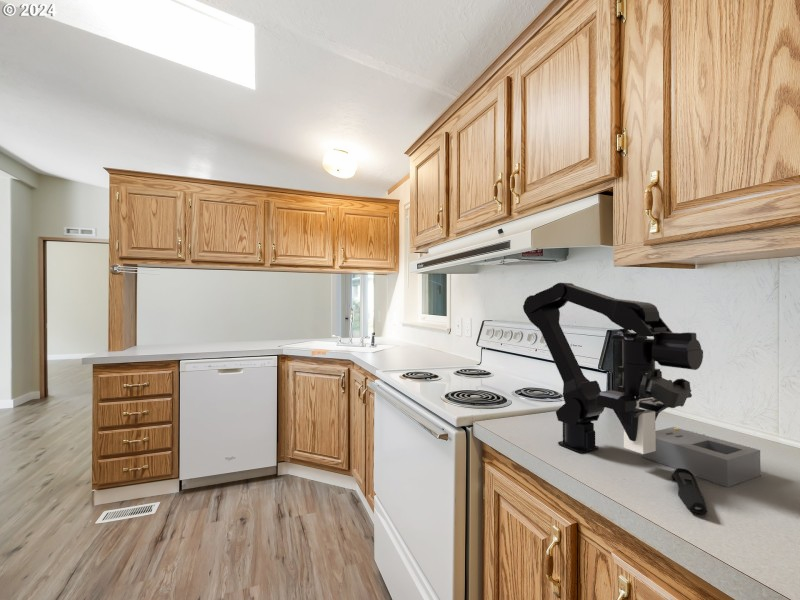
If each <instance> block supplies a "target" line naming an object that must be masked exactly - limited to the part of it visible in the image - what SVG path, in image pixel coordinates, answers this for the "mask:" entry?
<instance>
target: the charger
mask: <svg viewBox="0 0 800 600" xmlns="http://www.w3.org/2000/svg"><path fill="white" fill-rule="evenodd" d="M639 409H642V410H645V412H643V413H642V414H641V415H640V416H639V417H638V427H637V437H636V441H631V440H630V439H629V438H628V436H627V434H626V432H625V430H624V429H623V448H624V449H627V450H630V451H633V452H636V453H638V454H646V453H650V452H654V451H656V432H655V431H656V421H655V411H651V410H647V409H643V408H639Z"/></svg>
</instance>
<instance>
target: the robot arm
mask: <svg viewBox="0 0 800 600" xmlns="http://www.w3.org/2000/svg"><path fill="white" fill-rule="evenodd" d="M569 302H570V303H571V304H575V305H577V306H580V307H582V308H585V309H588V310H591V311H594V312H597V313H598V314H601V315H603V316H605V317H606V318H608V319H609V321H610V322H612V323H614V324H615V325H617V326H619V327H620V328H619V329H618V331H617V332H616V333H614V334H613V335H612V336H611V339H612V340H614V341H615V340H616V341H622V343H621V344H622V346H621V347H622V365H621V366H617V372H619V373H622V385H618V386H617V390H610V389H609V390H604V391H603V390H602V389H601V387H600V384H599V382H598V381H597V380H592V381H591V380H589V379H588V378H587V377H586V376H585V375H584V372H583V371H582V368H581V367H580V366H581V365H580V364H579V362H578V360H577V358H576V356H575V354H574V352H573V350H572V348H571V345H570V344H569V341H568V340H567V337H566V335H565V333H564V330H563V329H562V327H561V324H560V318H561V317H560V316H561V313H560V309H561V308H563V307H565V306H566V305H567V303H569ZM522 308H523V312H524V314H525V315H526V317H527V318H528V320H529V322H530V323H531V324H533V325H534V326H535V327H536V328H537V329H538V330H539V332H540V334H541V335H542V338H543V339H544V341H545V344H546V346H547V349H548V350H549V354H550V355H551V358H552V360H553V362H554V365H555V366H556V369H557V371H558V373H559V376H560V378H561V381H562V383H563V386H562V387H563V388H562V397H563V401H564V404H562V405H561V406H560V407H559V408H558V409H557V410H556V411H555V414H556V419H557V421H558V422H561V423H562V440H561V441H558V442H557V444H558V445H559V446H561V447H564V448H567V449H569V450H571V451H575V452H576V453H578V454H581V453H588V452H591V451H595V450H599V446H597V445H596V430H595V423H594V422H597V421H598V420H599V418H600V415H602V414H603V412H604V411H605V408H606V409H610V410H613V412H614V413H615V415H616V417H617V419H618V420H619V422H620V424H621V426H622V427H623V431H624V430H625V432H626V434H627V436H628V438H629V439H630V440H631V441H636V437H637V427H638V417H639V416H640V415H641V414H642V413H643V412H645V410H642V409H639V408H643V409H647V410H651V411H655V422H656V421H657V417H658V416H659V414H660V413H661V412H663V411H664V410H666V409H668V408H671V409H676V408H678V407H681V408H683V407H684V405H685V403H686V401H687V399H688V398H689V399H690V398H692V397H693V394H692V393H691V392H692V389H691V384H690V383H691V382H690V381H689V380H686V379H685V378H676V379H674V381H673V380H671V379H666V378H664V377H663V375H662V374H663V372H662V371H661V368H656V363H657V364H658V365H659V366H661V367H669V368H675V369H676V368H677V369H684V370H685V369H686V370H693V371H697V370H698V369H700V368H701V365H702V363H703V361H704V360H703V358H704V350H703V349H702V345H701V343H700V341H699V340H698V339H697V332H673V331H672V330H671V329H670V328H669V326H668V325H667V324H666V322H664V320H663V318H661V316H660V312H659V310H658V307H657V306H656V305H655V304H653V303H650V302H645V301H639V300H638V301H636V300H631V299H621V298H615V297H612V296H609V295H606V294H603V293H599V292H597V291H595V290H594V291H593V290H590V289H587V288H584V287H580V286H578V285H575V284H574V283H572V282H571V283H570V282H558V283H556V284H554V285H552V286H551V287H548V288H547V289H544V290H542V291H539V292H537V293H535V294H533V295H532V294H531V295H529V296H527V297H526V298H525V300H524V302H523V305H522ZM630 331H633V332H630ZM648 337H649V338H648ZM650 337H653V338H650Z"/></svg>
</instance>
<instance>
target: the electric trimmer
mask: <svg viewBox="0 0 800 600" xmlns="http://www.w3.org/2000/svg"><path fill="white" fill-rule="evenodd" d="M670 478H671V480H672V481H673V482H676V484H677V488H678V492H677V495H678V498H679V500H681V502H682V504H684V506H685V507H686V509H687V510H688V511H689V512H691V513H695V514H702V515H708V508H707V505H706V501H705V498H704V496H703V494H702V492H701V490H700V488H699V485H698V482H697V480H696V476H695V475H693V474H692V473H691V472H690V471H689V470H687V469H682V468H677V469H675V470H673V471H672V474H671V475H670Z"/></svg>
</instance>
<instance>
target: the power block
mask: <svg viewBox="0 0 800 600" xmlns="http://www.w3.org/2000/svg"><path fill="white" fill-rule="evenodd" d="M655 432H656V451H654V452H650V453H646V454H641V453H640V454H641V457H642V458H645V459H646V460H650V461H653V462H656V463H657V464H658V463H659V464H662V465H664V466H667V467H670V468H673V469H675V470H676V469H677V468H682V469H687V470H689V471H690V472H691V473H692V474H693V475H694V477H698V478H699V479H700V478H701V479H703V480H706V481H709V482H712V483H714V484H718V485H720V486H723V487H726V488H729V487H732V486H736V485H739V484H741V483H743V482H746V481H748V480H752V479H754V478H757V477H760V476H761V472H762V471H761V449H758V448H753V447H750V446H747V445H744V444H743V445H742V444H739V443H736V442H732V441H727V440H724V439H720V438H716V437H712V436H709V435H705V434H701V433H698V432H694V431H690V430H686V429H683V428H679V427H675V426H672V427H668V428H662V429H656V430H655Z"/></svg>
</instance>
